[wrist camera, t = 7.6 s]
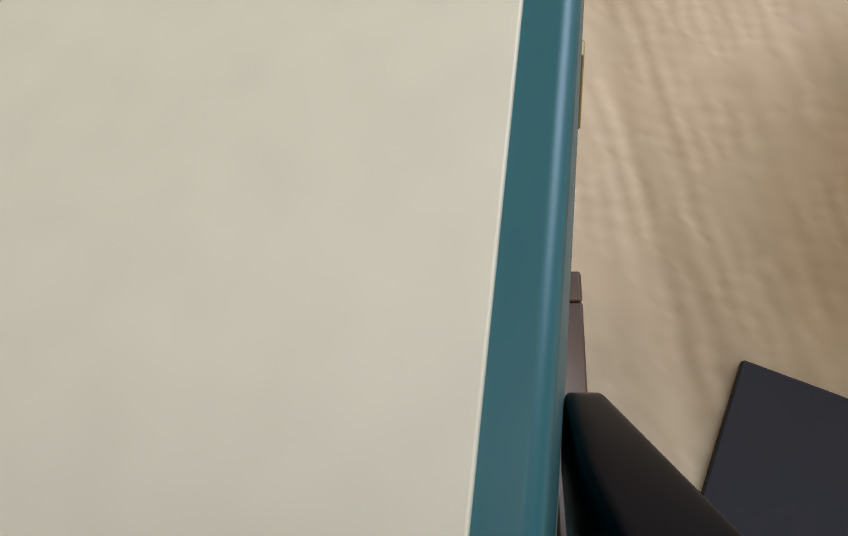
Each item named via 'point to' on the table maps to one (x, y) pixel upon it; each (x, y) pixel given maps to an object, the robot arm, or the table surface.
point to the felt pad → (781, 458)
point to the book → (285, 265)
